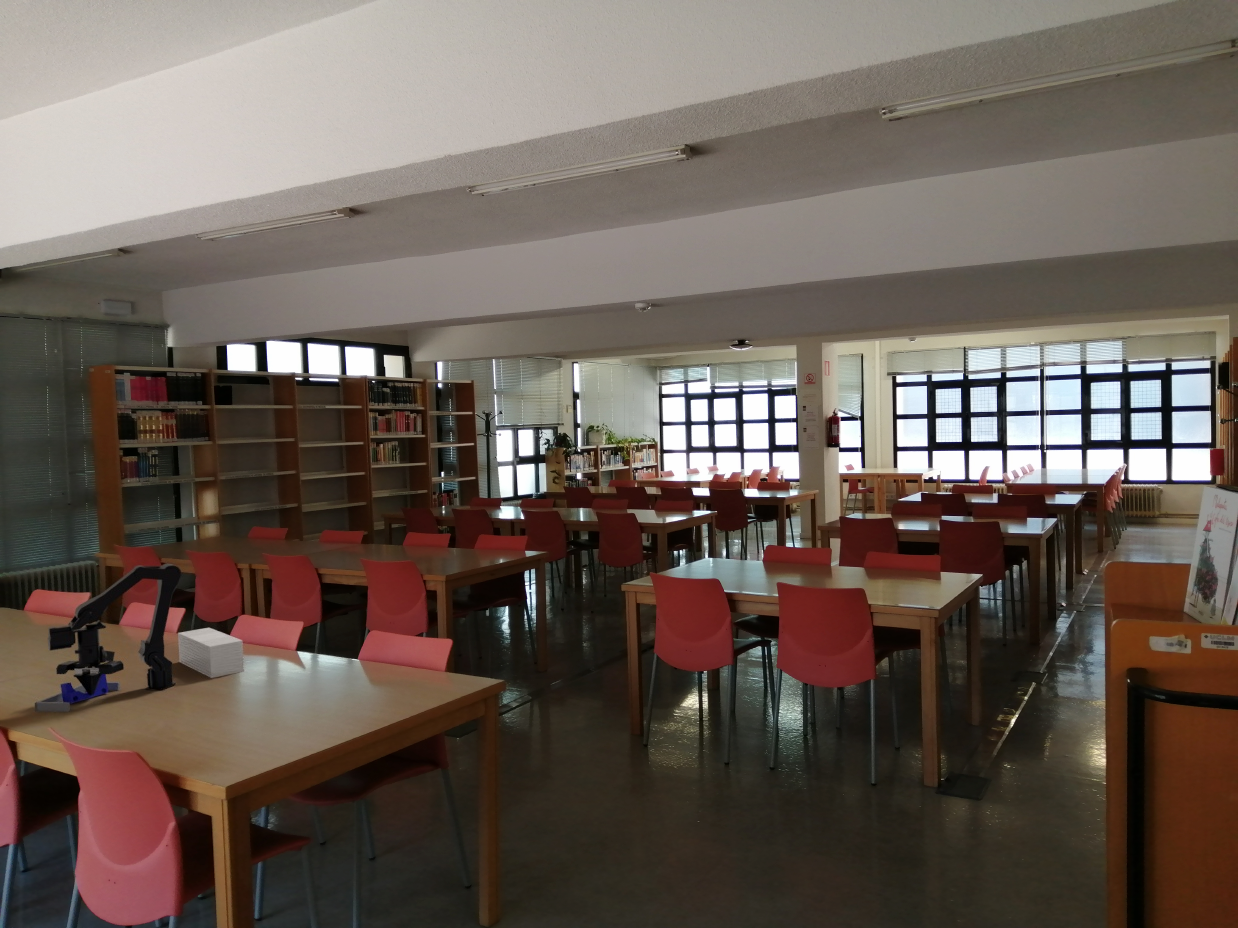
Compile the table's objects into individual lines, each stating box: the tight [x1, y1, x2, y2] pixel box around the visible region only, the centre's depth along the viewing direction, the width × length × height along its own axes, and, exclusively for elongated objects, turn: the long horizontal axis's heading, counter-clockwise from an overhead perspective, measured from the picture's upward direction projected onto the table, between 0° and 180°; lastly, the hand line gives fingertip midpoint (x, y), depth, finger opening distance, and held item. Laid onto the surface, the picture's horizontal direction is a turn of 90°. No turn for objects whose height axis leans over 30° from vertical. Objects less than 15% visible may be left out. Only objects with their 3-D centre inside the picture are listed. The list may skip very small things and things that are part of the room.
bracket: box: [34, 681, 121, 713], centre depth 269 cm, size 11×22×2 cm, turn 172°
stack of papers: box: [177, 627, 245, 679], centre depth 305 cm, size 32×11×11 cm, turn 44°
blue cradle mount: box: [60, 674, 109, 704], centre depth 271 cm, size 12×4×6 cm, turn 150°
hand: (91, 695), depth 269 cm, fingers closed
